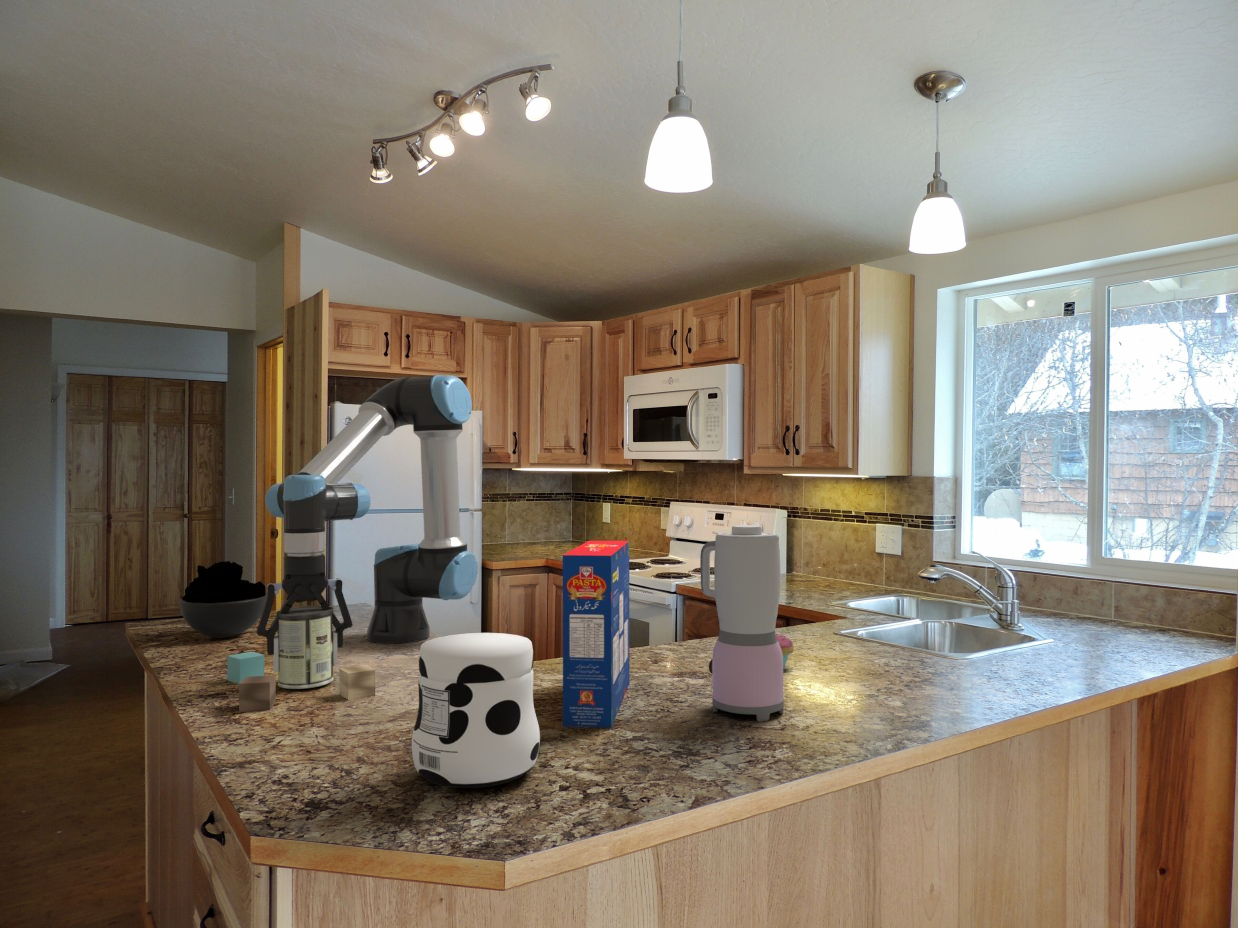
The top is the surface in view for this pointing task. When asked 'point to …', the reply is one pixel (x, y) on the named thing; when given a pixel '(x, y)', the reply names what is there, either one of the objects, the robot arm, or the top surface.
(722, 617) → the blender
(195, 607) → the bowl of black rocks
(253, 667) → the teal cube
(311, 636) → the coffee can
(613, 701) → the pasta box
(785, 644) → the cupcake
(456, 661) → the milk container
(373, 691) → the oak cube
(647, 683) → the top surface
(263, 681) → the walnut cube
